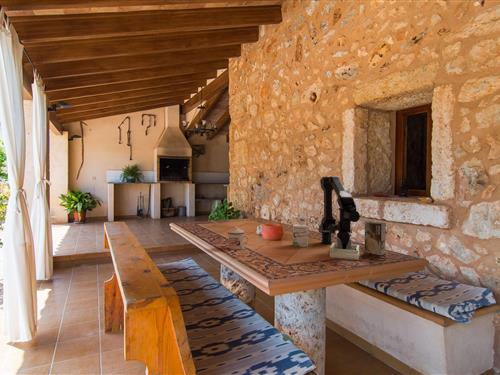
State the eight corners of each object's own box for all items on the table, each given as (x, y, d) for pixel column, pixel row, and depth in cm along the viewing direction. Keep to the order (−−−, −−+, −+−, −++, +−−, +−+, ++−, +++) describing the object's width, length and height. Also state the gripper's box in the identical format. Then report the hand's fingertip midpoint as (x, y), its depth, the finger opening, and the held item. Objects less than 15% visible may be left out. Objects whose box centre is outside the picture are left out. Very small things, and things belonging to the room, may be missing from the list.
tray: (332, 252, 166) (332, 248, 166) (359, 255, 162) (359, 250, 162) (329, 257, 157) (329, 252, 157) (358, 260, 152) (358, 255, 152)
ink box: (292, 246, 182) (292, 225, 182) (293, 244, 187) (293, 224, 187) (307, 247, 180) (307, 226, 180) (307, 245, 185) (308, 225, 184)
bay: (332, 247, 180) (333, 242, 180) (359, 249, 175) (359, 244, 175) (329, 252, 168) (330, 247, 168) (358, 254, 163) (358, 250, 162)
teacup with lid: (225, 248, 173) (225, 227, 173) (231, 245, 182) (231, 225, 181) (246, 250, 169) (246, 228, 169) (251, 247, 178) (251, 226, 178)
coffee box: (386, 253, 166) (386, 222, 166) (381, 255, 162) (382, 224, 161) (368, 250, 173) (369, 221, 172) (363, 252, 168) (364, 222, 167)
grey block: (338, 250, 172) (338, 236, 172) (351, 251, 170) (351, 237, 170) (337, 252, 168) (337, 238, 168) (351, 253, 165) (351, 239, 165)
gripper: (331, 216, 180) (331, 244, 180) (327, 220, 162) (326, 251, 163) (352, 217, 176) (351, 245, 176) (350, 222, 158) (349, 253, 159)
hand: (344, 248), depth 169 cm, fingers closed on grey block, 5 cm apart
